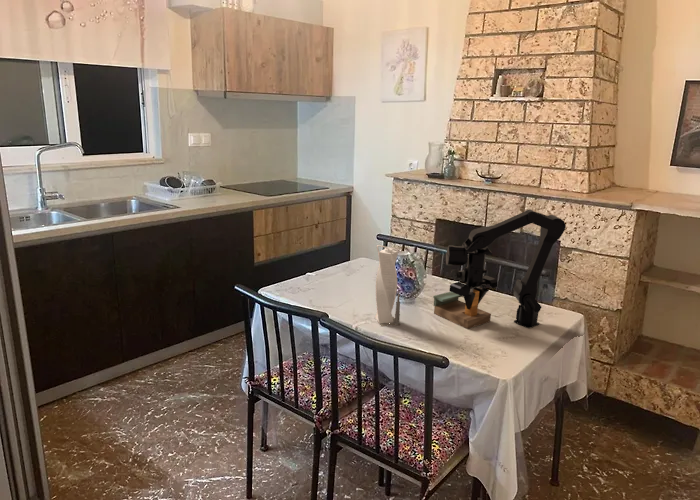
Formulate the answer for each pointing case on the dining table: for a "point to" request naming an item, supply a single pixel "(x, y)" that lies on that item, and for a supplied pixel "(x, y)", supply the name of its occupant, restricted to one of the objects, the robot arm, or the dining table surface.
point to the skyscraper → (387, 287)
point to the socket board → (458, 311)
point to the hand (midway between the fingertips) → (471, 308)
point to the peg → (473, 305)
